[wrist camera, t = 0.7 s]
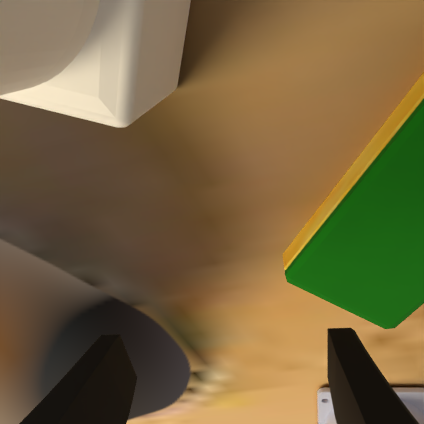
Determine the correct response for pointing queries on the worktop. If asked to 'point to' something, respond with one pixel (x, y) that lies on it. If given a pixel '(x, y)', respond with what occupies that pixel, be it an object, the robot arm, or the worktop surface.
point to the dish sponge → (371, 226)
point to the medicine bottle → (91, 55)
